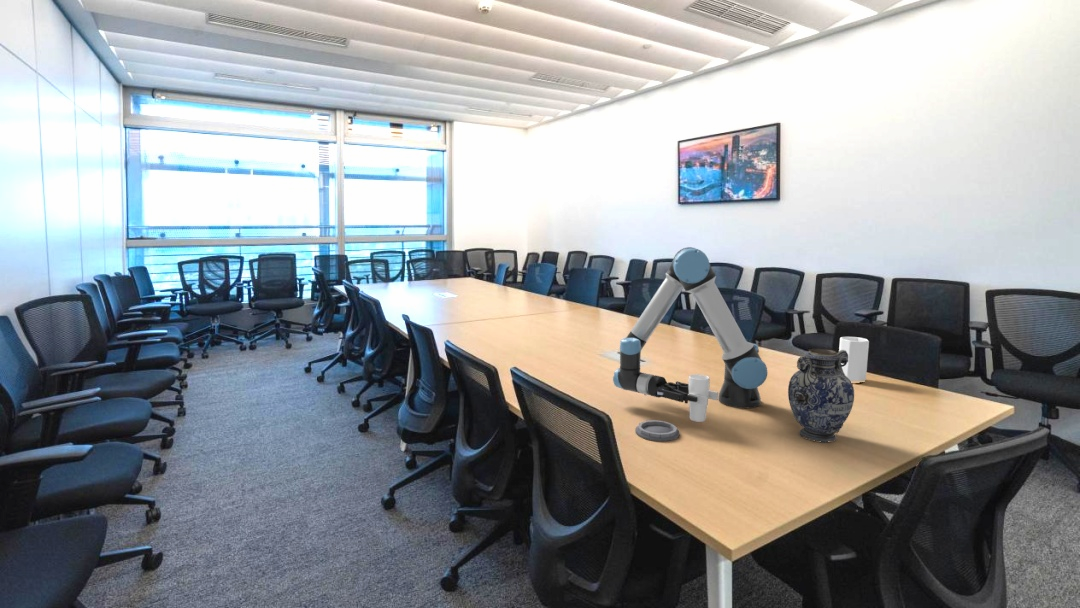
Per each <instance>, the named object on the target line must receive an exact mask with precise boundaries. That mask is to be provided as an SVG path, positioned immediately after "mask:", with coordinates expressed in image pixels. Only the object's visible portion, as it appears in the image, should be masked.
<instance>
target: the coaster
mask: <svg viewBox="0 0 1080 608" xmlns="http://www.w3.org/2000/svg"><path fill="white" fill-rule="evenodd" d="M635 434H636V435H637V436H638V437H639V438H641V439H644V440H647V441H653V442H671V440H672V441H675V440H676V439H679V437H680V431H679V429H678V427H677V426H676V425H674V424H673V423H670V422H668V421H664V420H657V419H655V420H653V419H652V420H651V419H650V420H644V421H641V422H639V423H638V425H637V426H636V427H635Z"/></svg>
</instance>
